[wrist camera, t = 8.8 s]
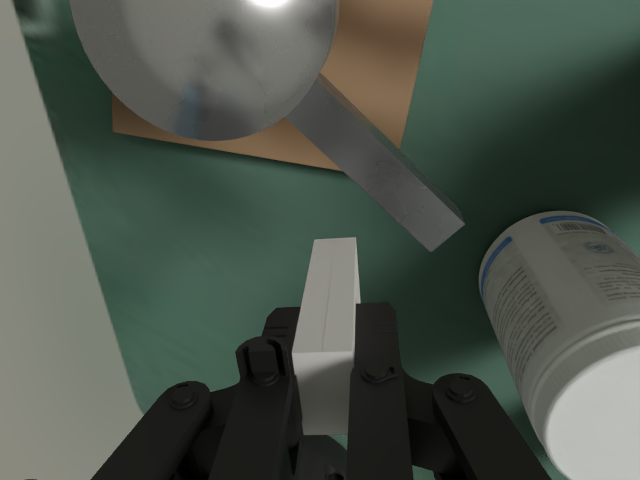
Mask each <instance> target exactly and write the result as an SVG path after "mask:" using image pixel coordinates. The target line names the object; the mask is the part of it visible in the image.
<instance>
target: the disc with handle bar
mask: <svg viewBox="0 0 640 480" xmlns="http://www.w3.org/2000/svg"><path fill="white" fill-rule="evenodd" d="M69 1H70V7H71V12H72V17H73V20H74V24H75V27H76V31H77V34H78V36H79V39H80V41H81V43H82V46H83V48H84V51H85V53H86V54H87V56H88V58H89V60H90V62H91V64H92V65H93V67H94V69H95V70H96V72H97V73H98V75H99V76H100V77H101V79H102V80H103V82H104V83H105V84H106V85H107V87H108V88H109V89H110V90H111V91H112V92H113V94H114V95H115V96H116V97H117V98H118V99H119V100H120V101H122V102H123V103H124V104H125V105H126V106H127V107H128V108H129V109H131V110H132V111H133V112H134V113H136V114H137V115H138V116H140V117H141V118H143V119H144V120H146V121H148V122H149V123H151V124H153V125H154V126H156V127H159V128H161V129H163V130H165V131H167V132H170V133H173V134H176V135H179V136H182V137H185V138H191V139H196V140H204V141H224V140H233V139H238V138H242V137H247V136H250V135H252V134H255V133H258V132H260V131H262V130H264V129H266V128H268V127H270V126H272V125H274V124H275V123H277V122H278V121H279V120H281V119H282V118H283V117H285V118H286V119H287V120H288V121H289V122H290V123H291V124H293V125H294V126H295V127H296V128H297V129H298V130H299V131H300V132H301V133H302V134H303V135H304V136H306V137H307V138H308V139H309V140H310V141H311V142H312V143H313V144H314V145H315V146H316V147H317V148H319V149H320V150H321V151H322V152H323V153H324V154H325V155H326V156H327V157H328V158H329V159H330V160H332V161H333V162H334V163H335V164H336V165H337V166H338V167H339V168H340V169H341V170H342V171H343V172H344V173H346V174H347V175H348V176H349V177H350V178H351V179H352V180H353V181H354V182H355V183H356V184H357V185H359V186H360V187H361V188H362V189H363V190H364V191H365V192H366V193H367V194H368V195H369V196H370V197H372V198H373V199H374V200H375V201H376V202H377V203H378V204H379V205H380V206H381V207H382V208H383V209H384V210H386V211H387V212H388V213H389V214H390V215H391V216H392V217H393V218H394V219H395V220H396V221H397V222H399V223H400V224H401V225H402V226H403V227H404V228H405V229H406V230H407V231H408V232H409V233H410V234H412V235H413V236H414V237H415V238H416V239H417V240H418V241H419V242H420V243H421V244H422V245H423V246H425V247H426V248H427V249H428V250H429V251H430V252H432V251H433V250H435V249H436V248H437V247H438V246H439V245H441V244H442V243H443V242H444V241H445V240H447V239H448V238H449V237H450V236H451V235H453V234H454V233H455V232H456V231H458V230H459V229H460V228H461V227H462V226H464V225H465V223H464V220H463V218H462V215H461V213H460V210H459V208H458V206H457V205H456V204H455V203H454V202H453V201H452V200H451V199H450V198H449V197H448V196H447V195H445V194H444V193H443V192H442V191H441V190H440V189H439V188H438V187H437V186H436V185H435V184H434V183H433V182H432V181H431V180H430V179H429V178H428V177H427V176H426V175H425V174H424V173H423V172H422V171H421V170H420V169H419V168H418V167H417V166H416V165H415V164H414V163H413V162H412V161H411V160H410V159H409V158H408V157H407V156H405V155H404V154H403V153H402V152H401V151H400V150H399V149H398V148H397V147H396V146H395V145H394V144H393V143H392V142H391V141H390V140H389V139H388V138H387V137H386V136H385V135H384V134H383V133H382V132H381V131H380V130H379V129H378V128H377V127H376V126H375V125H374V124H373V123H372V122H371V121H370V120H369V119H368V118H367V117H365V116H364V115H363V114H362V113H361V112H360V111H359V110H358V109H357V108H356V107H355V106H354V105H353V104H352V103H351V102H350V101H349V100H348V99H347V98H346V97H345V96H344V95H343V94H342V93H341V92H340V91H339V90H338V89H337V88H336V87H335V86H334V85H333V84H332V83H331V82H330V81H329V80H328V79H327V78H325V77H324V76H323V75H322V74H321V73H320V71H321V69H322V68H323V66H324V64H325V63H326V61H327V59H328V56H329V54H330V52H331V49H332V47H333V43H334V40H335V36H336V33H337V27H338V21H339V7H340V0H69Z"/></svg>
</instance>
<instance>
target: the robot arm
mask: <svg viewBox="0 0 640 480" xmlns="http://www.w3.org/2000/svg"><path fill="white" fill-rule="evenodd" d="M235 353H236V358H237V363H238V368H239V373H240V381H239V383H237V384H236V385H234V386H231V387H228V388H225V389H222V390H218V391H214V392H210V391H209V388H208V387H207V386H206V385H205V384H203V383H200V382H198V381H187V382H183V383H179V384H176V385H174V386H172V387H170V388H168V389H167V390H166V391H165V392H164V393H163V394H162V395H161V396H160V397H159V398H158V399H157V401H156V402H155V403H154V404H153V405H152V407H151V408H150V409H149V410H148V411H147V413H146V414H145V415H144V416H143V417H142V419H141V420H140V421H139V422H138V423H137V425H136V426H135V427H134V428H133V429H132V431H131V432H130V433H129V434H128V435H127V437H126V438H125V439H124V440H123V441H122V443H121V444H120V445H119V446H118V447H117V449H116V450H115V451H114V452H113V454H112V455H111V456H110V457H109V458H108V459H107V461H106V462H105V463H104V464H103V466H102V467H101V468H100V469H99V470H98V471H97V473H96V474H95V475H94V476H93V477H92V479H91V480H413V471H412V465H414V466H418V467H422V468H425V469H429V470H432V471H433V473H434V477H435V479H436V480H551V478H550V477H549V475H548V474H547V472H546V471H545V469H544V468H543V467H542V465H541V464H540V462H539V461H538V459H537V458H536V456H535V455H534V453H533V452H532V451H531V449H530V448H529V446H528V445H527V443H526V442H525V440H524V439H523V437H522V436H521V434H520V433H519V432H518V430H517V429H516V427H515V426H514V424H513V423H512V421H511V420H510V418H509V417H508V416H507V414H506V413H505V411H504V410H503V408H502V407H501V405H500V404H499V402H498V401H497V399H496V398H495V397H494V395H493V394H492V392H491V391H490V389H489V388H488V386H487V385H486V384H485V383H483V382H482V381H481V380H480V379H478V378H476V377H474V376H472V375H467V374H462V373H454V374H448V375H445V376H442V377H440V378H439V379H438V380H437V381H436V382H435V383H434V384H429V383H424V382H421V381H418V380H416V379H414V378H412V377H410V376H409V375H408V374H407V373H405V371H404V370H403V368H402V366H401V362H400V352H399V342H398V332H397V323H396V313H395V310H394V309H393V308H392V307H391V306H390V304H389V303H388V302H383V303H361V301H360V288H359V274H358V260H357V246H356V237H352V238H334V239H315V240H314V245H313V250H312V255H311V259H310V264H309V269H308V274H307V279H306V284H305V289H304V294H303V299H302V304H301V307H286V308H276V309H275V310H274V311H273V312H272V313H271V314H270V315H269V316H268V317H267V320H266V323H265V326H264V330H263V333H262V336H260V337H255V338H252V339H250V340H247V341H245V342H244V343H243V344H241V345H240V346H239V347H238V349H237V350H236V352H235ZM327 435H348V445H347V451H346V450H345V448H343V447H342V446H341V445H340V444H339V443H338V442H336V441H335V440H334V439H332V438H331V437H329V436H327ZM27 480H35V479H27Z"/></svg>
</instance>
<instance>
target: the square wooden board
mask: <svg viewBox="0 0 640 480" xmlns="http://www.w3.org/2000/svg"><path fill="white" fill-rule="evenodd" d="M432 4H433V0H340V7H339V21H338V27H337V33H336V36H335V40H334V43H333V47H332V49H331V52H330V54H329V56H328V59H327V61H326V63H325V64H324V66H323V68H322V69H321V71H320V73H321V74H322V75H323V76H324V77H325V78H327V79H328V80H329V81H330V82H331V83H332V84H333V85H334V86H335V87H336V88H337V89H338V90H339V91H340V92H341V93H342V94H343V95H344V96H345V97H346V98H347V99H348V100H349V101H350V102H351V103H352V104H353V105H354V106H355V107H356V108H357V109H358V110H359V111H360V112H361V113H362V114H363V115H364V116H365V117H367V118H368V119H369V120H370V121H371V122H372V123H373V124H374V125H375V126H376V127H377V128H378V129H379V130H380V131H381V132H382V133H383V134H384V135H385V136H386V137H387V138H388V139H389V140H390V141H391V142H392V143H393V144H394V145H395V146H396V147H397V148H398V149H399V150H400V147H401V142H402V138H403V133H404V129H405V124H406V120H407V115H408V111H409V106H410V102H411V98H412V93H413V89H414V84H415V80H416V75H417V71H418V66H419V62H420V57H421V53H422V48H423V44H424V40H425V35H426V31H427V26H428V22H429V17H430V13H431V8H432ZM111 94H112V120H113V132H115V133H121V134H127V135H133V136H139V137H144V138H150V139H156V140H162V141H168V142H174V143H180V144H186V145H192V146H198V147H203V148H209V149H215V150H221V151H227V152H233V153H239V154H245V155H251V156H257V157H262V158H268V159H274V160H280V161H286V162H292V163H298V164H304V165H310V166H316V167H321V168H327V169H333V170H339V171H342V170H341V169H340V168H339V167H338V166H337V165H336V164H335V163H334V162H333V161H332V160H330V159H329V158H328V157H327V156H326V155H325V154H324V153H323V152H322V151H321V150H320V149H319V148H317V147H316V146H315V145H314V144H313V143H312V142H311V141H310V140H309V139H308V138H307V137H306V136H304V135H303V134H302V133H301V132H300V131H299V130H298V129H297V128H296V127H295V126H294V125H293V124H291V123H290V122H289V121H288V120H287V119H286V118H285V117H283V118H282V119H281V120H279V121H278V122H277V123H275V124H274V125H272V126H270V127H268V128H266V129H264V130H262V131H260V132H258V133H255V134H252V135H250V136H247V137H242V138H238V139H233V140H224V141H204V140H196V139H191V138H185V137H182V136H179V135H176V134H173V133H170V132H167V131H165V130H163V129H161V128H159V127H156V126H154V125H153V124H151V123H149V122H148V121H146V120H144V119H143V118H141V117H140V116H138V115H137V114H136V113H134V112H133V111H132V110H131V109H129V108H128V107H127V106H126V105H125V104H124V103H123V102H122V101H120V100H119V99H118V98H117V97H116V96H115V95H114V94H113V92H112V91H111Z"/></svg>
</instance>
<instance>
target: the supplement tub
mask: <svg viewBox="0 0 640 480" xmlns="http://www.w3.org/2000/svg"><path fill="white" fill-rule="evenodd" d="M479 290H480V294H481V298H482V300H483V303H484V306H485V308H486V311H487V313H488V316H489V319H490V321H491V324H492V326H493V329H494V331H495V334H496V337H497V339H498V342H499V344H500V347H501V349H502V352H503V355H504V357H505V360H506V362H507V365H508V367H509V370H510V372H511V375H512V377H513V380H514V383H515V385H516V388H517V390H518V393H519V395H520V398H521V400H522V403H523V406H524V408H525V411H526V413H527V415H528V417H529V420H530V422H531V425H532V427H533V429H534V431H535V433H536V435H537V437H538V439H539V441H540V442H541V444H542V445H543V447H544V449H545V451H546V453H547V455H548V457H549V459H550V460H551V462H552V463H553V465H554V466H555V467H556V468H557V469H558V471H559V472H560V473H562V474H563V475H564V476H565V477H566V478H568V479H569V480H640V257H639V256H638V255H637V254H636V253H635V252H634V251H632V250H631V249H630V248H629V247H628V246H627V245H626V244H625V243H624V242H623V241H622V240H621V239H620V238H619V237H618V236H617V235H616V234H614V233H613V232H612V231H611V230H610V229H609V228H608V227H607V226H605V225H604V224H603V223H601V222H599V221H598V220H596V219H594V218H592V217H590V216H587V215H585V214H581V213H578V212H571V211H550V212H543V213H539V214H535V215H532V216H529V217H527V218H524V219H522V220H520V221H518V222H516V223H515V224H513V225H512V226H510V227H509V228H507V229H506V230H505V231H504V232H503V233H502V234H501V235H500V236H499V237H498V238H497V239H496V240H495V241H494V242H493V244H492V245H491V246H490V248H489V249H488V251H487V252H486V254H485V256H484V258H483V261H482V263H481V267H480V271H479Z"/></svg>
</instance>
